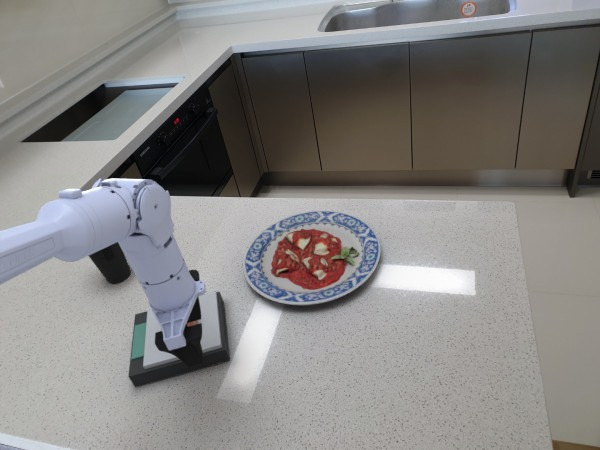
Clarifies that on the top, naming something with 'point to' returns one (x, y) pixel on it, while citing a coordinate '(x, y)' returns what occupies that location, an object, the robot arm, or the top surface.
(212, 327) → the scale
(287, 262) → the ceramic plate
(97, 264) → the drinking cup
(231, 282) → the top surface
